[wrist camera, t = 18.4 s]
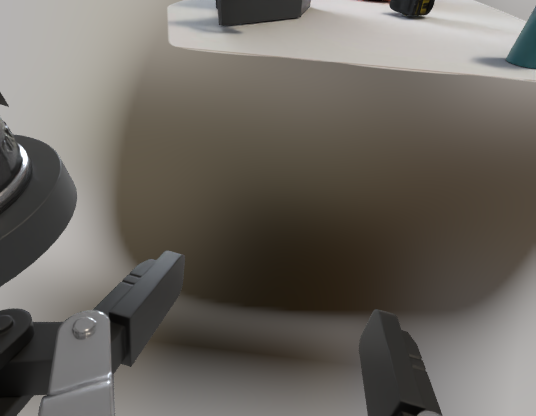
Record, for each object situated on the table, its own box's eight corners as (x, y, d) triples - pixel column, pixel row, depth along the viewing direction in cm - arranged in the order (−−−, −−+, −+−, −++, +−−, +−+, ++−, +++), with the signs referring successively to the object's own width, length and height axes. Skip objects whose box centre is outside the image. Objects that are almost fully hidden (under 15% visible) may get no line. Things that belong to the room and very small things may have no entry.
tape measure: (385, 13, 57) (391, -10, 55) (411, 12, 59) (418, -11, 57) (409, 20, 53) (417, -5, 50) (436, 19, 55) (445, -6, 52)
